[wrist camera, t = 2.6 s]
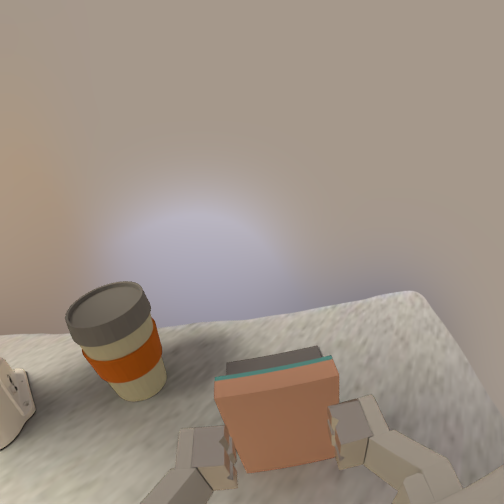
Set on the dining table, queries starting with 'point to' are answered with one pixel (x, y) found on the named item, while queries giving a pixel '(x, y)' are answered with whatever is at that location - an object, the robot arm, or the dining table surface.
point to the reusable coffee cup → (119, 339)
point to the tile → (280, 413)
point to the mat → (273, 361)
